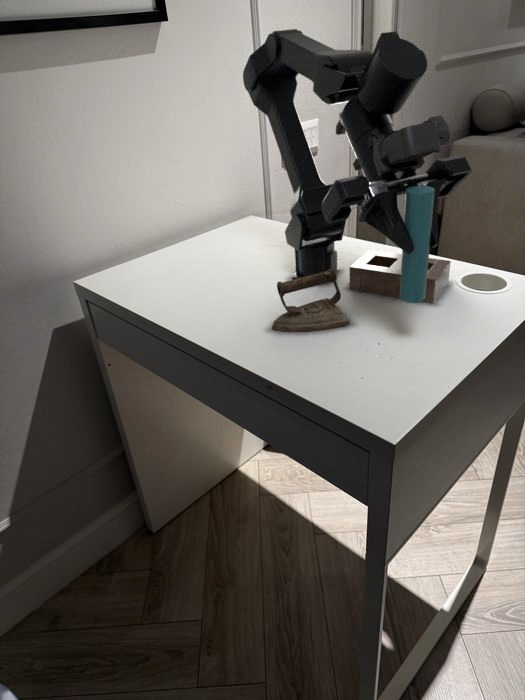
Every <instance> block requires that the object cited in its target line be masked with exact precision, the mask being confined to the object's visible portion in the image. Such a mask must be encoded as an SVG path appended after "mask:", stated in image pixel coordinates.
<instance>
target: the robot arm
mask: <svg viewBox="0 0 525 700" xmlns="http://www.w3.org/2000/svg"><path fill="white" fill-rule="evenodd" d="M427 69H428V59H427V56H426V54H425V53H424V50H422V49H420V48H419V47H418V46H417V45H415V44H414V43H412V42H411V41H409V40H406V39H403V38H401V37H400V35H399V33H398V31H396V30H395V31H386V32H381V33H380V35H379V37H378V39H377V41H376V44H375V46H374V50H373V52H371V51H369V50H364V49H334V48H332V47H330V46H328V45H327V44H325V43H322V42H320V41H318V40H316V39H313V38H312V37H309V36H308V35H306V34H304V33H303V32H302V31H301V30H298V28H297V29H296V28H292V29H282V30H273V31H272V32H271V33H269V34H268V35H267V37H266V39H265V41H264V43H263V44H262V45H261V46H259V47H258V48H257V49H256V50H255V51H253V52H252V53H251V54H250V55H249V57H248V59H247V61H246V63H245V66H244V69H243V72H242V82H243V86H244V89H245V91H247V93H248V95H249V97H250V100H251V102H252V104H253V106H254V107H256V109H258V110H259V111H261V112H262V113H263V114H264V115H265V116H266V117H267V119H268V121H269V124H270V128H271V130H272V133H273V136H274V139H275V142H276V145H277V148H278V150H279V153H280V154H279V155H280V156H281V159H282V162H283V165H284V168H285V171H286V174H287V177H288V179H289V183H290V186H291V188H292V192H293V197H292V198H293V199H292V202H291V206H290V211H289V213H290V216H291V219H290V221H289V223H288V224H287V226H286V228H285V230H284V236H285V240H286V244H288V245H289V246H290V247H292V248H293V249H294V261H295V272H294V273H293V274H291V280H294V279H298V278H302V277H306V276H310V275H313V274H317V273H321V272H325V271H328V270H329V269H331V268H334V270H335V272H336V274H337V273H339V272H340V268H339V267H338V251H337V249H336V248H335V242H341V241H342V240H343V235H344V232H345V228H346V222H347V220H348V219H349V217H350V216H351V213H352V208H351V206H355V205H358V209H359V210H360V213H359V215H358V216H357V219H356V220H357V221H358V222H359V223H365V224H367V225H368V226H370V227H371V228H373V229H375V230H376V231H377V232H379V233H380V234H382V235H384V236H385V237H386V238H387V239H388V240H389V241H390V242H391V243H393V244H394V245H396V246H397V247H398V248H399V249H401V250H403V251H404V252H406V253H407V254H411V253H412V252H413V251H414V247H413V243H412V240H411V237H410V235H409V233H408V231H407V228H406V226H405V224H404V219H403V217H402V215H401V213H400V210H399V207H398V196H401V195H406V189H407V188H409V187H413V186H430V187H433V188H434V189H435V191H434V203H433V214H432V225H431V237H430V248H431V249H433V248H436V247H437V246H438V245H439V232H438V231H439V229H438V212H437V211H438V199H444V198H446V197H447V196H449V195H451V194H452V193H453V192H454V191H455V190H456V189H457V188H458V187H459V186H460V185H461V184H462V183H463V182H464V181H465V180H466V179H467V178H468V177H469V175H471V174H472V173H473V170H472V168H471V165H470V164H469V162H468V160H467V158H466V156H462V155H454V156H449V157H444V158H438V159H436V160H435V161H434V162H433V163H432V164H431V166H430V167H429V168H428V169H427V170H426V172H424V173H419V174H417V172H416V171H417V170H418V169H421V168H422V167H423V166H424V165H425V163H426V161H425V159H424V158H426V157H427V156H430V155H431V154H433V153H436V154H437V153H439V152H441V151H442V146H443V145H446V144H448V143H449V142H450V139H451V133H450V127H449V125H448V123H447V122H446V120H445V118H444V117H443V115H436V116H430V117H428V120H423V121H422V122H421V123H419V124H412V125H407V126H405V127H402V128H400V129H397V127H396V126H395V124H394V121H393V119H392V117H391V115H394V114H396V113H398V112H400V111H401V110H402V109H403V107H404V105H405V104H406V103H407V101H408V99H409V98H410V96H411V94H412V93H413V91H414V90H415V88H416V87H417V86H418V84H419V83H420V81H421V80H422V77H423V76H424V74H425V73H426V72H427ZM299 76H303V77H305V78H306V79H308V80H309V81H311V82H312V84H313V85H312V92H313V93H314V94H315V95H316V96H317V97H318V99H320V100H321V102H323V104H325V105H327V106H333V105H337V104H344V103H345V105H344V107H343V109H342V111H341V112H339V114H338V120H337V123H336V125H335V134H336V136H340V135H345V134H346V136H347V139H348V141H349V144H350V146H351V148H352V151H353V153H354V155H355V159H354V161H353V163H352V166H353V169H354V171H356V172H357V171H361V172H362V174H363V175H361V174H358V175H354V176H349V177H344V178H339V179H335V180H334V182H333V183H330V184H326V183H325V182H324V181H323V180H322V179H321V176H320V173H319V171H318V167H317V165H316V162H315V159H314V157H313V153H312V151H311V148H310V145H309V142H308V139H307V136H306V134H305V130H304V127H303V124H302V122H301V119H300V116H299V113H298V110H297V108H296V103H295V101H294V100H295V96H296V92H297V88H298V78H299Z"/></svg>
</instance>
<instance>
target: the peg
mask: <svg viewBox="0 0 525 700" xmlns="http://www.w3.org/2000/svg"><path fill="white" fill-rule="evenodd" d="M434 191H435V189H434V188H433V187H430V186H413V187H409V188H407V189H406V194H405V197H404V198H405V200H404V216H403V217H404V219H403V221H404V224H405V226H406V228H407V231H408V233H409V235H410V237H411V240H412V243H413V247H414V251H413V252H412V253H411V254H407V253H406V252H404V251H403V250H402V249H401V250H402V251H401V254H402V265H401V282H400V298H399V299H400V300H401V301H402V302H405V303H409V304H417V303H423V302H422V301H423V300H424V299H425V294H426V282H427V271H428V260H429V258H430V248H431V247H430V237H431V225H432V214H433V203H434Z"/></svg>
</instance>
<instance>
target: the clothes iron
mask: <svg viewBox="0 0 525 700" xmlns="http://www.w3.org/2000/svg"><path fill="white" fill-rule="evenodd" d="M337 279H338V276H337V273H336V272H335V270H334V268H331V269H329V270H328V271H325V272H321V273H317V274H313V275H310V276H306V277H302V278H298V279H290V280H285V281H281V280H280V281H277V282H276V290H277V292H278V296H279V298H280V302H281V304H282V305H283V308H284V309H285V310H286V312H284V313H283V314H280V315H279V316H277V317H276V319H275V320H274V321H273V324H272V325H271V329H272V330H274V331H279V332H288V333H289V332H290V333H293V332H294V333H299V332H300V333H301V332H305V333H306V332H315V331H316V332H317V331H324V330H331V329H336V328H341V327H342V328H343V327H347V326H349V325H350V324H351V321H350V319H349V318H348V317H347V316H346V315H345V313H344V312H343V311H342V310H341V309H340V308H339V306H337V305H336V304H338V303H339V302H340V300H342V293H341V291H340V288H339V284H338V282H337ZM329 283H332V284H333V286H334V289H335V294H334V295H333V296H332V297H330V298H329V297H326V298H321V299H318V300H315V301H311V302H308V303H306V304H302V305H299V306H297V305H286V302H285V299H284V296H285V295H287V294H291V293H294V292H299V291H302V290H306V289H311V288H314V287H318V286H322V285H326V284H329Z"/></svg>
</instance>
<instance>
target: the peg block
mask: <svg viewBox="0 0 525 700" xmlns="http://www.w3.org/2000/svg"><path fill="white" fill-rule="evenodd" d="M451 263H452V262H451V260H447V259H440V258H433V257H429V260H428V271H427V282H426V294H425V299H424V300H423V301H422V302H421V303H427V304H434V303H435V302H436V300H437V299H439V298H438V297H440V295H441V294H442V293H443V291H444V290H445V289H446V287H447V286H448V285H449V282H450V281H449V279H450V271H451V270H450V269H451ZM401 265H402V253H394V252H385V251H378V250H372V249H369V250H367V251H366V252H365V253H364V254H363V255H361V256H360V257H359V258H358V259H357V260H355V261H354V262H353V263H352V264H351V265H350V266H349V290H353V291H354V290H355V291H358V292H364V293H371V294H375V295H381V296H387V297H394V298H398V299H400V282H401Z"/></svg>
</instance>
